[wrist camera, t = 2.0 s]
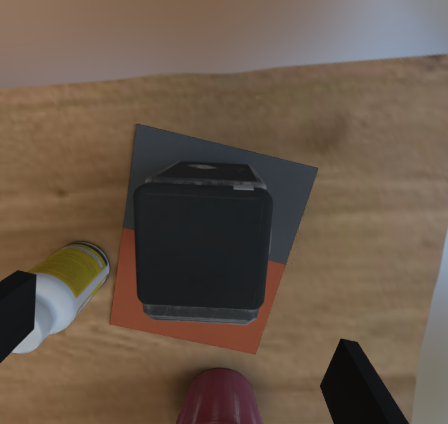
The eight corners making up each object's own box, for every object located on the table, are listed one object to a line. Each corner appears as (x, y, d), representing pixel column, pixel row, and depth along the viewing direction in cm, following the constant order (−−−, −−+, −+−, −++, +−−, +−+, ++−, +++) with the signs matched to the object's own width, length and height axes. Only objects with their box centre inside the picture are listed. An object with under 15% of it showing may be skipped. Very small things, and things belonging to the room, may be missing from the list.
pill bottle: (66, 231, 32) (-21, 284, 21) (118, 252, 32) (60, 314, 21) (54, 275, 33) (-33, 346, 22) (103, 294, 34) (42, 371, 23)
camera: (170, 247, 32) (121, 342, 17) (168, 158, 29) (108, 184, 14) (256, 251, 32) (279, 350, 17) (264, 163, 29) (299, 193, 14)
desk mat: (317, 168, 29) (318, 168, 29) (255, 352, 36) (255, 354, 36) (137, 123, 28) (136, 123, 28) (110, 322, 35) (109, 324, 35)
